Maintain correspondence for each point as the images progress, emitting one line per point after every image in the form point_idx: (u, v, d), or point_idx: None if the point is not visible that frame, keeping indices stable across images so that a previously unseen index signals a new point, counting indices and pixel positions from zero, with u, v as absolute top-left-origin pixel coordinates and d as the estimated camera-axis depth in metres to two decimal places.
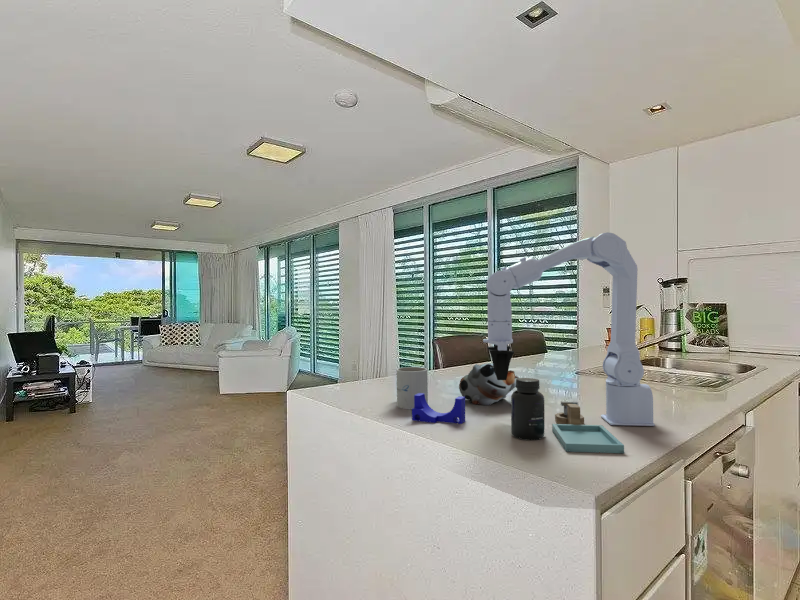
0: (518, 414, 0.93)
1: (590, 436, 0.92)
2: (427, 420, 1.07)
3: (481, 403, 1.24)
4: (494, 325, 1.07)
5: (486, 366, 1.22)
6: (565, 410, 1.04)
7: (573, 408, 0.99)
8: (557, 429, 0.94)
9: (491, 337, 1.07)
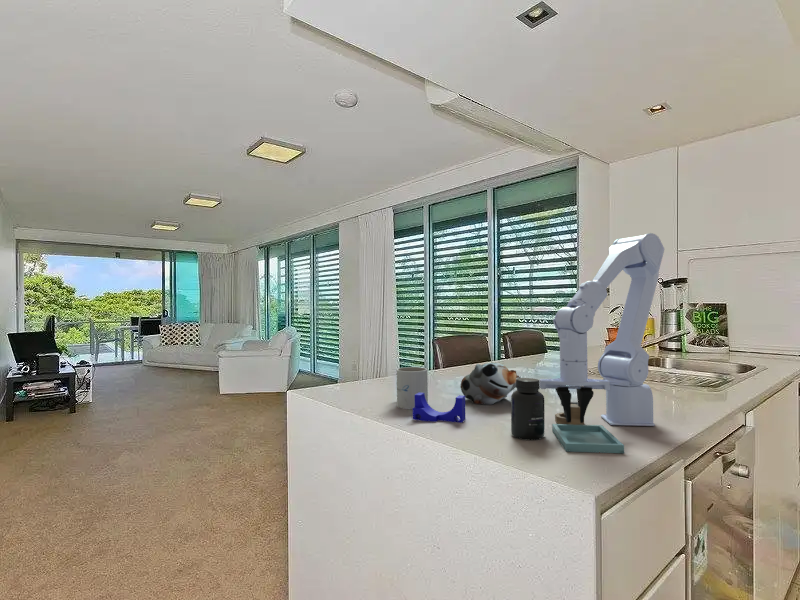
0: (518, 414, 0.93)
1: (590, 436, 0.92)
2: (427, 419, 1.08)
3: (483, 403, 1.24)
4: None
5: (488, 366, 1.22)
6: None
7: (573, 408, 0.99)
8: (557, 429, 0.94)
9: None
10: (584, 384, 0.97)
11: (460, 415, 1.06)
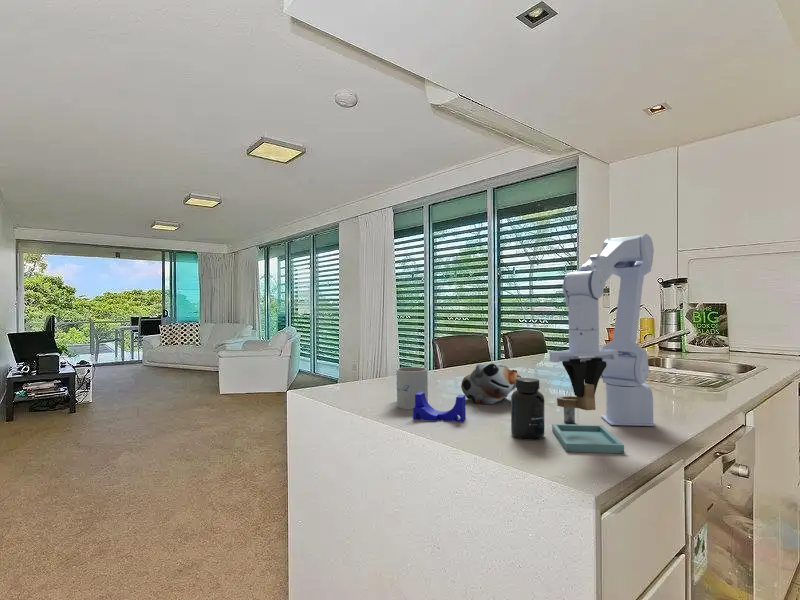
0: (518, 414, 0.93)
1: (590, 436, 0.92)
2: (428, 419, 1.08)
3: (484, 402, 1.24)
4: None
5: (489, 365, 1.23)
6: (565, 410, 1.04)
7: (587, 386, 0.90)
8: (557, 429, 0.94)
9: None
10: (599, 354, 0.90)
11: (460, 414, 1.07)
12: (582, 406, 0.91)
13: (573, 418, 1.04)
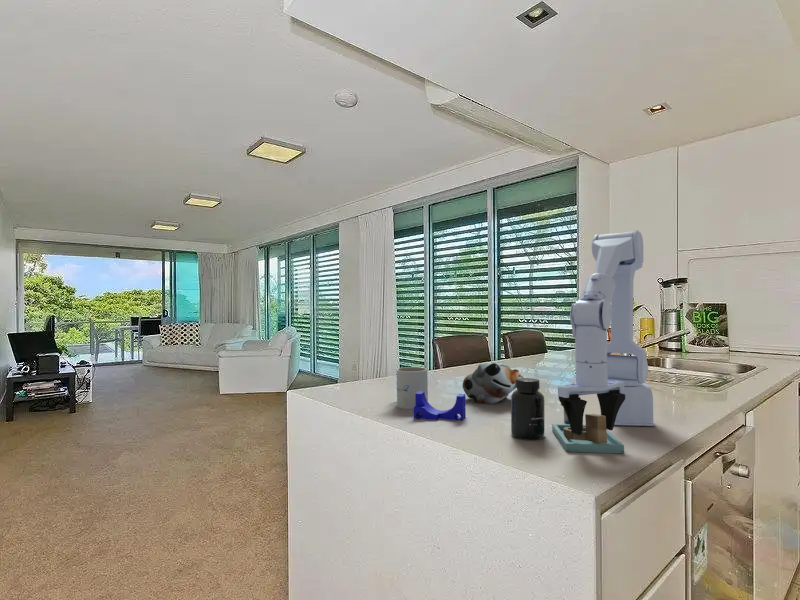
0: (518, 414, 0.93)
1: None
2: (428, 418, 1.09)
3: (486, 402, 1.25)
4: (576, 365, 0.88)
5: (491, 365, 1.23)
6: None
7: (599, 417, 0.85)
8: (557, 429, 0.94)
9: None
10: (608, 388, 0.85)
11: (461, 413, 1.08)
12: (593, 439, 0.86)
13: None
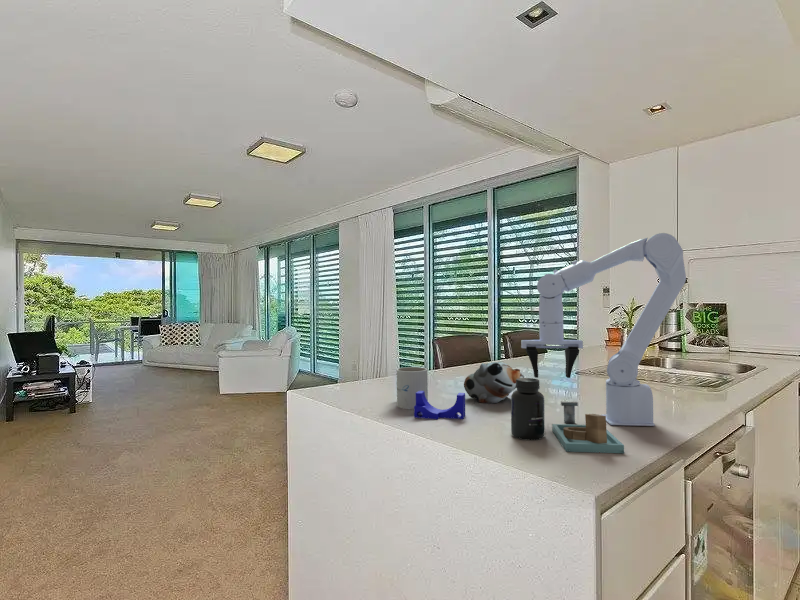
0: (518, 414, 0.93)
1: None
2: (429, 417, 1.10)
3: (488, 401, 1.26)
4: None
5: (494, 365, 1.24)
6: (565, 410, 1.04)
7: (599, 417, 0.85)
8: (557, 429, 0.94)
9: None
10: (560, 343, 1.09)
11: (461, 412, 1.09)
12: (593, 439, 0.86)
13: (573, 418, 1.04)
